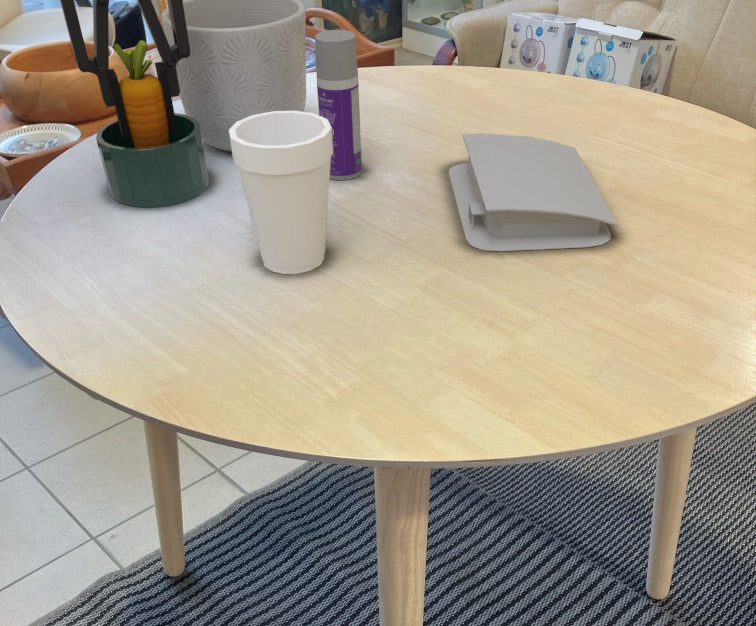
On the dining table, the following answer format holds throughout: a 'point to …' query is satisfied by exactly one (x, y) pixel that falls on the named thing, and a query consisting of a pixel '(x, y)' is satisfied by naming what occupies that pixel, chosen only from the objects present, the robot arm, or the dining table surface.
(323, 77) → the container
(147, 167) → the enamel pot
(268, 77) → the planter
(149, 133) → the carrot
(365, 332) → the dining table surface
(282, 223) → the foam cup
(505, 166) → the grey flat folded piece
